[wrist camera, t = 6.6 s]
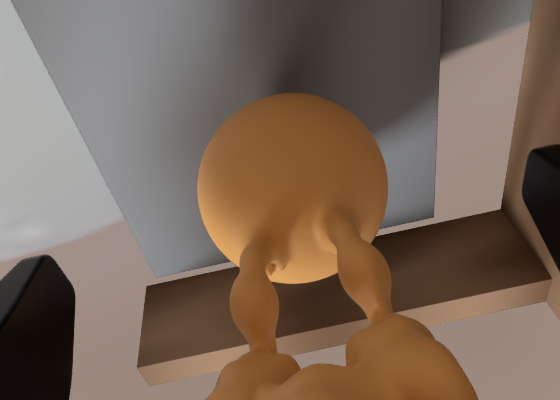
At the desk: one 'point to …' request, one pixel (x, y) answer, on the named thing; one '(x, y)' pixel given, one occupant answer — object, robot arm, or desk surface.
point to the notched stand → (277, 80)
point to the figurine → (312, 253)
